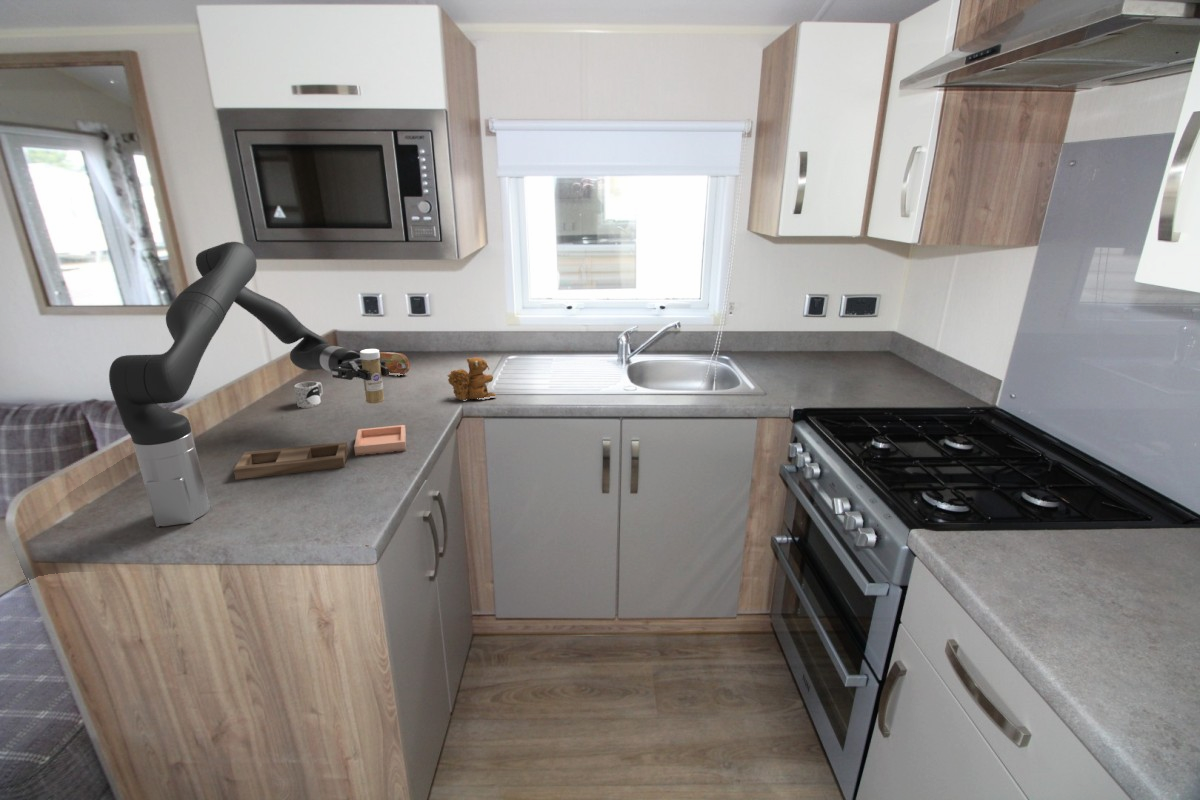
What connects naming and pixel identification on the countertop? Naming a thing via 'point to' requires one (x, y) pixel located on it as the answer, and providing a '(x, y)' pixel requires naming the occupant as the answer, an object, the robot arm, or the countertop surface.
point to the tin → (396, 362)
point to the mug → (308, 394)
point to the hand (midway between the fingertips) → (378, 374)
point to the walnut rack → (291, 460)
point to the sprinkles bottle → (372, 375)
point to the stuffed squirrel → (471, 380)
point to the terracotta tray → (380, 440)
